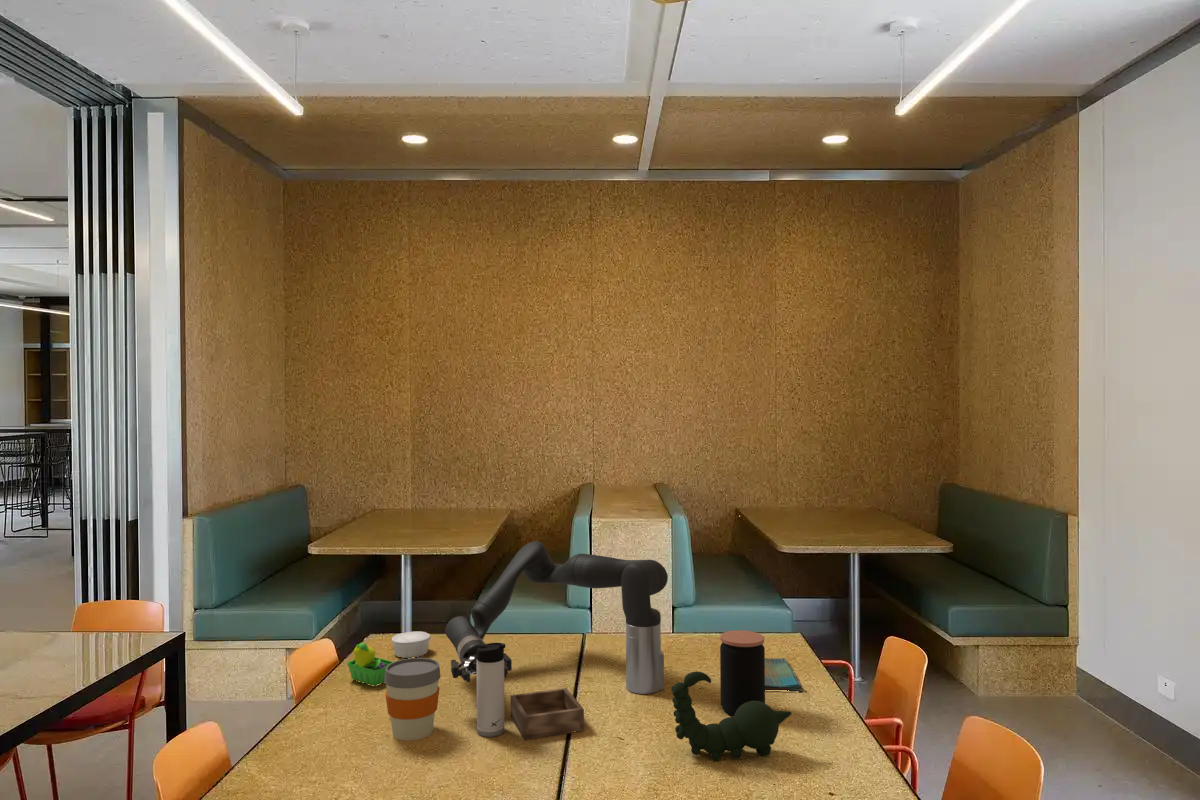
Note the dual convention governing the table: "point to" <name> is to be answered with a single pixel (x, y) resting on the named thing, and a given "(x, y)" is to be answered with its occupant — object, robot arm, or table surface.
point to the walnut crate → (546, 713)
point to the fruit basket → (367, 665)
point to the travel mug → (490, 689)
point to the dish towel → (780, 676)
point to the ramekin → (411, 644)
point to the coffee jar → (741, 669)
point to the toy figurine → (725, 724)
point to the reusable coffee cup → (412, 696)
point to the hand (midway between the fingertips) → (486, 675)
